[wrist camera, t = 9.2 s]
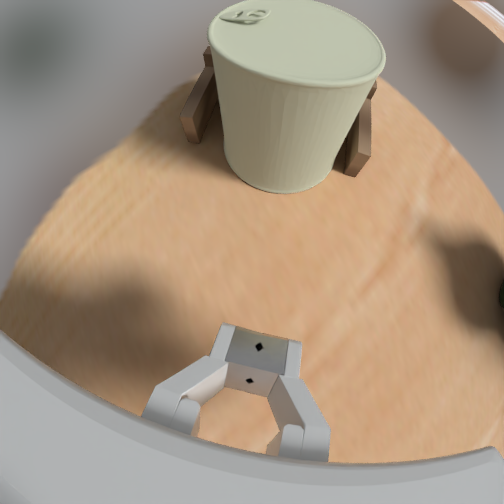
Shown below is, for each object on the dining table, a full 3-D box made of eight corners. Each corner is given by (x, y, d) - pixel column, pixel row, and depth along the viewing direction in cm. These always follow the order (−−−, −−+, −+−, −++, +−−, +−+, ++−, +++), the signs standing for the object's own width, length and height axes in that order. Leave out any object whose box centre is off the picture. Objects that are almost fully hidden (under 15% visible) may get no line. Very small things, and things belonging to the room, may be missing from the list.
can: (245, 94, 22) (243, -17, 11) (342, 122, 22) (388, 18, 10) (206, 174, 21) (169, 54, 9) (321, 210, 20) (390, 108, 8)
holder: (355, 177, 21) (378, 145, 16) (188, 141, 21) (174, 103, 16) (358, 114, 22) (376, 79, 17) (213, 84, 23) (208, 46, 18)
